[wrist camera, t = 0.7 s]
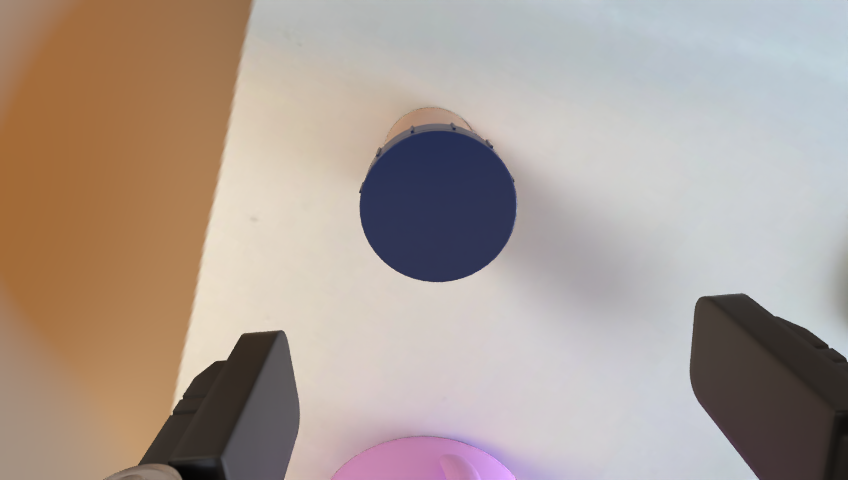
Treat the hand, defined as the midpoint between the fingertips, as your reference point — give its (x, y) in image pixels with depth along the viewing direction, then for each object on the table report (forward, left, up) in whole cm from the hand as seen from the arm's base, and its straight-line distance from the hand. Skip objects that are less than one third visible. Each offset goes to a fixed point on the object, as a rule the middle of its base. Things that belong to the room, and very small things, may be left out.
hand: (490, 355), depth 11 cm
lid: (0, -1, -10) cm, 10 cm away
